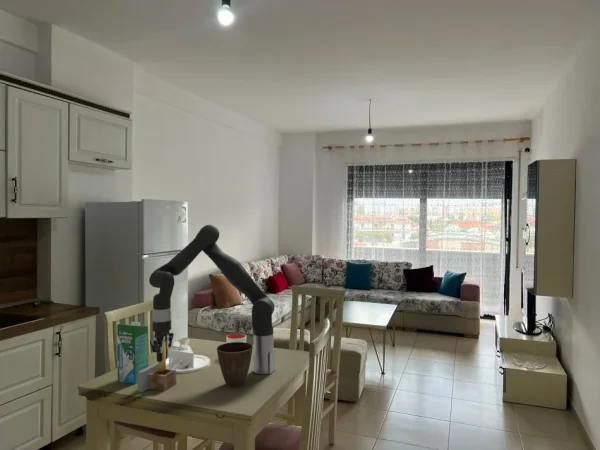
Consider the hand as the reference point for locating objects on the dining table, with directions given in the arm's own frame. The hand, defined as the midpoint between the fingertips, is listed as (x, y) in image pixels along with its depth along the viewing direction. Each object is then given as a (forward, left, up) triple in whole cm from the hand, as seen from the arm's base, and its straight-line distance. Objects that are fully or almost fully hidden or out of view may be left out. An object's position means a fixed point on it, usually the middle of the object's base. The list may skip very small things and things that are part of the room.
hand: (162, 360), depth 188 cm
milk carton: (+17, -3, -11) cm, 20 cm away
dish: (+7, -27, -12) cm, 30 cm away
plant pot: (-28, -11, -11) cm, 32 cm away
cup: (-11, -47, -11) cm, 49 cm away
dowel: (0, 0, -4) cm, 4 cm away
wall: (+5, 0, -11) cm, 12 cm away
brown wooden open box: (0, 0, -11) cm, 11 cm away
